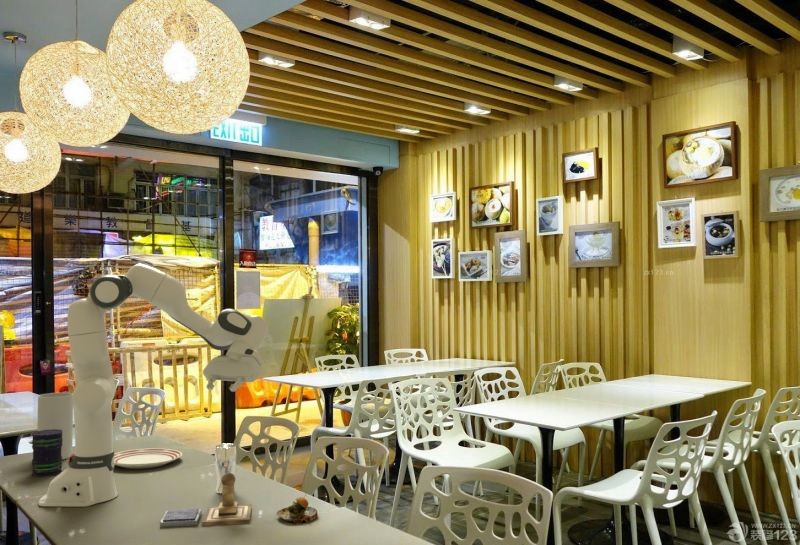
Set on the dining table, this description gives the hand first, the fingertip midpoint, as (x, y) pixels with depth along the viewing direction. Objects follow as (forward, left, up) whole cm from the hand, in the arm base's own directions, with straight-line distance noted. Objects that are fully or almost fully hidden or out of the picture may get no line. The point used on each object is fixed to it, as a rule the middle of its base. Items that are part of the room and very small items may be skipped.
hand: (220, 389), depth 216 cm
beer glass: (+1, +6, -35) cm, 35 cm away
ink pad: (-9, -21, -34) cm, 41 cm away
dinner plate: (-33, +50, -35) cm, 69 cm away
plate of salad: (+24, -24, -35) cm, 49 cm away
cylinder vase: (-70, +64, -35) cm, 100 cm away
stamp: (+4, -20, -33) cm, 39 cm away
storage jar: (-65, +40, -35) cm, 83 cm away
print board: (+4, -20, -34) cm, 40 cm away
